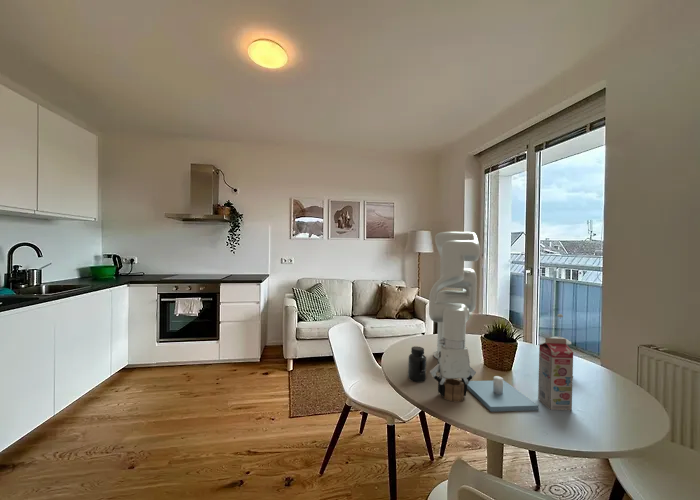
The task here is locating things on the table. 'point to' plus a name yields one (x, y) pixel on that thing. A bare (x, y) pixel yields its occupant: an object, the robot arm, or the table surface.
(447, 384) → the walnut ring
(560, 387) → the juice carton
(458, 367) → the robot arm
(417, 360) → the supplement bottle
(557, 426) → the table surface
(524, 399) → the post board
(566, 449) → the table surface
